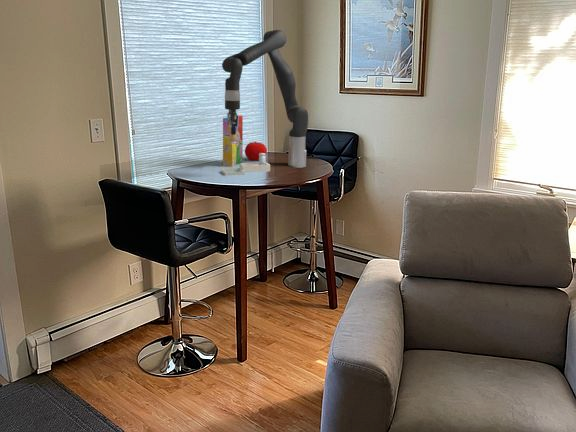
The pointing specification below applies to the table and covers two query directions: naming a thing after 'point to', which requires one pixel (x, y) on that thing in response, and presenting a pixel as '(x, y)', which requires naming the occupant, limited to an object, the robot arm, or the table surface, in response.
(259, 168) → the fuse block
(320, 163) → the table surface
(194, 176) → the table surface
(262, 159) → the cylinder
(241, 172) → the parts tray
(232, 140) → the fuse
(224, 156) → the game box
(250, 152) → the tomato
